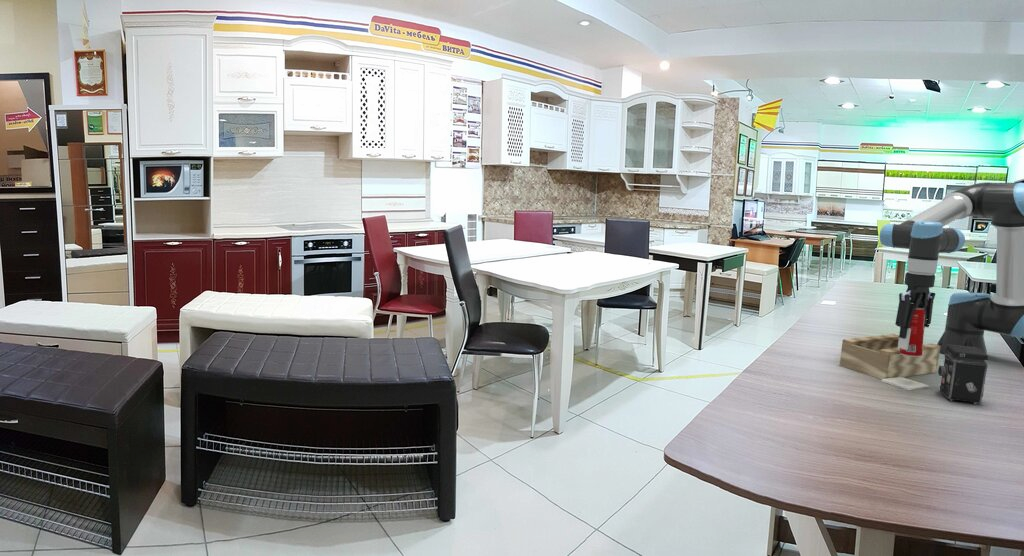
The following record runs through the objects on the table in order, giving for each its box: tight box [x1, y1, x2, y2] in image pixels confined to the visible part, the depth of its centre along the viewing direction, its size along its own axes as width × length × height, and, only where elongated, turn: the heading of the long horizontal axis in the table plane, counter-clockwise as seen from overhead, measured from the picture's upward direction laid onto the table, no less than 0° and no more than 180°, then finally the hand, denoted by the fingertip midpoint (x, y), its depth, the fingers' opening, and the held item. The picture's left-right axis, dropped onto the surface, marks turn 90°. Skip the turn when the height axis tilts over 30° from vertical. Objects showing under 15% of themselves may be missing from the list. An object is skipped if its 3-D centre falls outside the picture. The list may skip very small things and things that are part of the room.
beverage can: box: [900, 307, 925, 357], centre depth 184 cm, size 6×6×15 cm
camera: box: [937, 345, 989, 405], centre depth 175 cm, size 10×11×15 cm
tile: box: [880, 377, 930, 391], centre depth 187 cm, size 9×9×1 cm
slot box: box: [839, 333, 941, 380], centre depth 202 cm, size 26×16×9 cm, turn 114°
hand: (909, 347), depth 185 cm, fingers closed on beverage can, 6 cm apart
